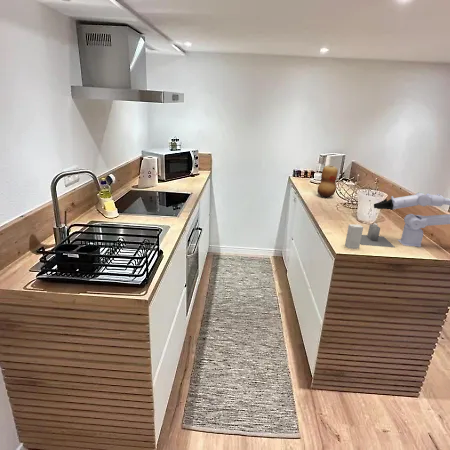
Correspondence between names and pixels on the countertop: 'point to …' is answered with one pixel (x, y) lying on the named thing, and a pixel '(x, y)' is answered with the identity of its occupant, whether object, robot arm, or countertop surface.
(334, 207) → the countertop surface
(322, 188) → the butternut squash
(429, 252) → the countertop surface
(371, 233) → the connector
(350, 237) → the skincare box
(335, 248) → the countertop surface
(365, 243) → the mat
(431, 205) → the robot arm
